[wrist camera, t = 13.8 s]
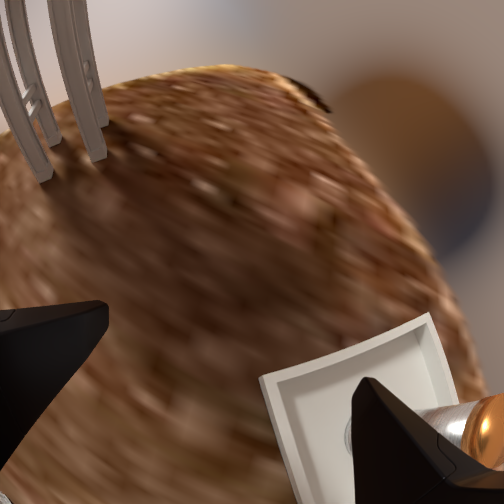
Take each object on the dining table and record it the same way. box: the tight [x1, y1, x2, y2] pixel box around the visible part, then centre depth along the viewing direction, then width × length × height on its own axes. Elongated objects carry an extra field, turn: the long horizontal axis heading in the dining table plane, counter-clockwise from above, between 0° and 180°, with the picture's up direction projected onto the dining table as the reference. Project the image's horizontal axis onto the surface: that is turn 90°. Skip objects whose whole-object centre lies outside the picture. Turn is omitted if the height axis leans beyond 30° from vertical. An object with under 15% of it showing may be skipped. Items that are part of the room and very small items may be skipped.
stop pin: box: [344, 393, 504, 468], centre depth 11 cm, size 6×6×14 cm
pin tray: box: [258, 312, 459, 504], centre depth 17 cm, size 16×16×3 cm
